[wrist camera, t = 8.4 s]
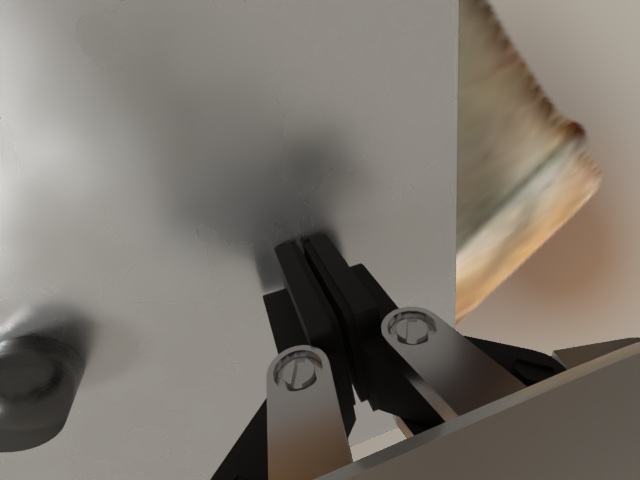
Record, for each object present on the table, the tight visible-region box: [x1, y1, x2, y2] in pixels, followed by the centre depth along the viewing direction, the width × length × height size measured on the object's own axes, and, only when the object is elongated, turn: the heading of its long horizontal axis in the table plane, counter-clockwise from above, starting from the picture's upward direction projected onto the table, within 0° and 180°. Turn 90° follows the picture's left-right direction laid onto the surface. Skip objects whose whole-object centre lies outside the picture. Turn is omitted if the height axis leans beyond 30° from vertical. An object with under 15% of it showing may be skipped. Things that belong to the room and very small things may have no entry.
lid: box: [0, 0, 459, 480], centre depth 11 cm, size 19×19×3 cm
